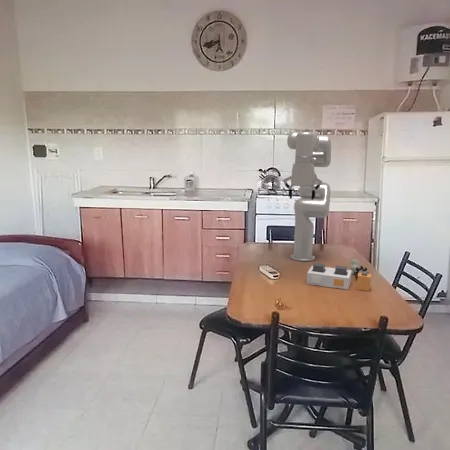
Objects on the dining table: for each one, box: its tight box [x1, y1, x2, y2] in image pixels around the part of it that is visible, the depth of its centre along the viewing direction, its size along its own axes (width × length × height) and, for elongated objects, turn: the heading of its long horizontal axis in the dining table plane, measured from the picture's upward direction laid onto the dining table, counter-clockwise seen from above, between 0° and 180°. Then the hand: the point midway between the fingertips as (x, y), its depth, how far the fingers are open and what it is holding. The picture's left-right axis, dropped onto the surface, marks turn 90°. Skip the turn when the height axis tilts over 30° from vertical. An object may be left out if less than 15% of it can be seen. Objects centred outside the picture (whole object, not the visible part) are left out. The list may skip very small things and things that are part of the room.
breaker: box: [313, 262, 326, 273], centre depth 191 cm, size 4×4×4 cm
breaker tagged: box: [334, 264, 348, 276], centre depth 187 cm, size 4×4×4 cm
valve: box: [349, 258, 370, 280], centre depth 199 cm, size 7×7×12 cm
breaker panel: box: [306, 264, 353, 291], centre depth 190 cm, size 12×18×5 cm
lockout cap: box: [356, 270, 372, 292], centre depth 183 cm, size 5×5×7 cm
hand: (301, 198), depth 196 cm, fingers open, 9 cm apart
